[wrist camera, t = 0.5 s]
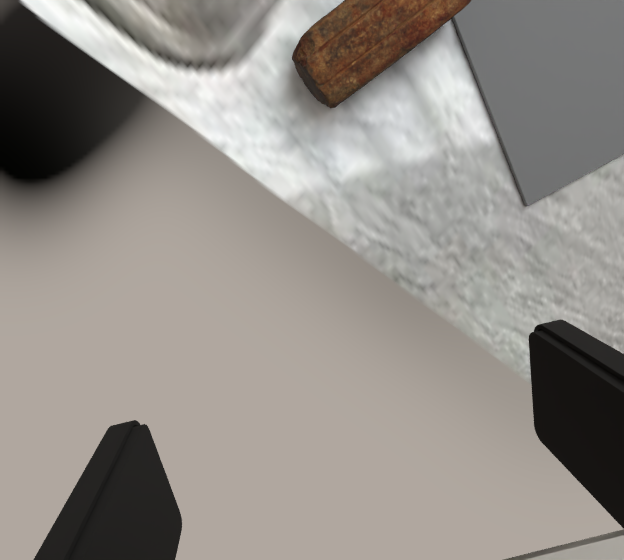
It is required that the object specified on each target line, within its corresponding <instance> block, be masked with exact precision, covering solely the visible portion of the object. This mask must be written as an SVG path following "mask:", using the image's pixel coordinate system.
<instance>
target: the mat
mask: <svg viewBox="0 0 624 560" xmlns="http://www.w3.org/2000/svg"><path fill="white" fill-rule="evenodd" d="M452 20H453V22H454V25H455V27H456V30H457V33H458V35H459V38H460V40H461V43H462V45H463V48H464V50H465V53H466V56H467V58H468V61H469V63H470V66H471V68H472V71H473V74H474V76H475V79H476V81H477V84H478V86H479V89H480V91H481V94H482V97H483V99H484V102H485V104H486V107H487V109H488V112H489V115H490V117H491V120H492V122H493V125H494V127H495V130H496V132H497V135H498V138H499V140H500V143H501V145H502V148H503V150H504V153H505V156H506V158H507V161H508V163H509V166H510V168H511V171H512V173H513V176H514V179H515V181H516V184H517V186H518V189H519V191H520V194H521V197H522V199H523V202H524V204H525V206H529V205H531V204H533V203H534V202H536V201H538V200H540V199H542V198H544V197H545V196H547V195H549V194H551V193H553V192H555V191H556V190H558V189H560V188H562V187H564V186H566V185H567V184H569V183H571V182H573V181H575V180H577V179H578V178H580V177H582V176H584V175H586V174H588V173H590V172H591V171H593V170H595V169H597V168H599V167H601V166H602V165H604V164H606V163H608V162H610V161H612V160H613V159H615V158H617V157H619V156H621V155H623V154H624V0H471V2H470V3H469V4H468V5H467V6H466V7H465V8H464V9H463V10H461V11H460V12H459V13H457V14H456V15H455V16H454V17H452Z"/></svg>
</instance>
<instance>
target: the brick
mask: <svg viewBox="0 0 624 560" xmlns="http://www.w3.org/2000/svg"><path fill="white" fill-rule="evenodd" d="M470 2H471V0H345V1H343V2H342V3H341V4H340V5H338V6H337V7H336V8H335V9H333V10H332V11H331V12H330V13H328V14H327V15H326V16H324V17H323V18H321V19H320V20H319V21H318V22H316V23H315V24H314V25H313V26H312V27H311V28H310V29H309V30H308V31H307V32H306V33H304V35H303V36H302V37H301V39H300V40H299V43H298V44H297V46H296V48H295V50H294V52H293V56H292V60H293V61H294V63H295V66H296V69H297V72H298V74H299V76H300V77H301V78H302V80H303V81H304V83H305V85H306V86H307V88H308V89H309V90H310V92H311V93H312V94H313V96H314V97H315V98H316V99H317V100H318V101H320V102H321V103H322V104H326V105H327V106H328V107H330V108H335V107H336V106H337V105H339V104H340V103H341V102H343V101H344V100H345V99H347V98H348V97H349V96H351V95H352V94H354V93H355V92H356V91H358V90H359V89H361V88H362V87H363V86H365V85H366V84H367V83H368V82H370V81H371V80H372V79H374V78H375V77H376V76H378V75H379V74H380V73H382V72H383V71H384V70H386V69H387V68H388V67H390V66H391V65H392V64H394V63H395V62H396V61H397V60H399V59H400V58H401V57H403V56H404V55H405V54H407V53H408V52H409V51H411V50H412V49H413V48H414V47H416V46H417V45H418V44H419V43H421V42H422V41H423V40H424V39H426V38H427V37H428V36H430V35H431V34H432V33H434V32H435V31H436V30H437V29H439V28H440V27H441V26H442V25H444V24H445V23H446V22H447V21H449V20H450V19H451V18H452V17H454V16H455V15H456V14H457V13H459V12H460V11H461V10H463V9H464V8H465V7H466V6H467V5H468V4H469V3H470Z"/></svg>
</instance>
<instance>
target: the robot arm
mask: <svg viewBox="0 0 624 560" xmlns="http://www.w3.org/2000/svg"><path fill="white" fill-rule="evenodd" d="M529 350H530V366H531V382H532V397H533V414H534V427H535V431H536V433H537V436H538V438H539V439H540V441H541V442H542V443H543V444H544V445H545V446H546V447H547V448H548V449H549V450H550V451H551V452H552V454H553V455H554V456H555V457H556V458H557V459H558V460H559V461H560V462H561V463H562V464H563V465H564V466H565V467H566V468H567V469H568V470H569V471H570V472H571V474H572V475H573V476H574V477H575V478H576V479H577V480H578V481H579V482H580V483H581V484H582V485H583V486H584V487H585V488H586V489H587V490H588V491H589V492H590V493H591V495H593V497H594V498H595V499H596V500H597V501H598V502H599V503H600V504H601V505H602V506H603V507H604V508H605V509H606V510H607V511H608V513H610V514H611V516H612V517H613V518H614V519H615V520H616V521H617V522H618V523H619V524H620V525H621V526H622V527H623V528H624V354H622V353H621V352H619V351H617V350H615V349H614V348H612V347H610V346H608V345H607V344H605V343H603V342H601V341H599V340H598V339H596V338H594V337H592V336H591V335H589V334H587V333H585V332H584V331H582V330H580V329H578V328H576V327H575V326H573V325H571V324H569V323H568V322H566V321H564V320H557V321H552V322H548V323H544V324H540V325H537V326H536V327H535V329H534V332H532V333H531V334H530V335H529ZM181 530H182V519H181V514H180V511H179V508H178V506H177V503H176V500H175V497H174V495H173V492H172V489H171V487H170V484H169V481H168V479H167V476H166V473H165V470H164V468H163V465H162V463H161V460H160V457H159V454H158V452H157V449H156V446H155V444H154V441H153V439H152V436H151V433H150V430H149V428H148V426H147V425H145V424H144V425H140V423H139V422H138V421H136V420H134V421H130V422H125V423H121V424H117V425H113V426H110V427H109V428H108V430H107V431H106V433H105V435H104V437H103V439H102V440H101V442H100V444H99V446H98V447H97V449H96V451H95V453H94V454H93V456H92V458H91V460H90V461H89V463H88V465H87V467H86V468H85V470H84V472H83V474H82V476H81V477H80V479H79V481H78V482H77V484H76V486H75V488H74V489H73V491H72V493H71V495H70V497H69V498H68V500H67V502H66V504H65V505H64V507H63V509H62V511H61V512H60V514H59V516H58V518H57V519H56V521H55V523H54V525H53V526H52V528H51V530H50V532H49V533H48V535H47V537H46V539H45V540H44V542H43V544H42V546H41V548H40V549H39V551H38V553H37V555H36V556H35V558H34V560H175V557H176V553H177V548H178V544H179V539H180V535H181ZM504 560H624V530H620V531H616V532H612V533H608V534H604V535H600V536H596V537H592V538H588V539H584V540H580V541H576V542H572V543H568V544H564V545H560V546H556V547H552V548H548V549H544V550H540V551H536V552H532V553H528V554H524V555H520V556H516V557H512V558H508V559H504Z"/></svg>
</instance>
